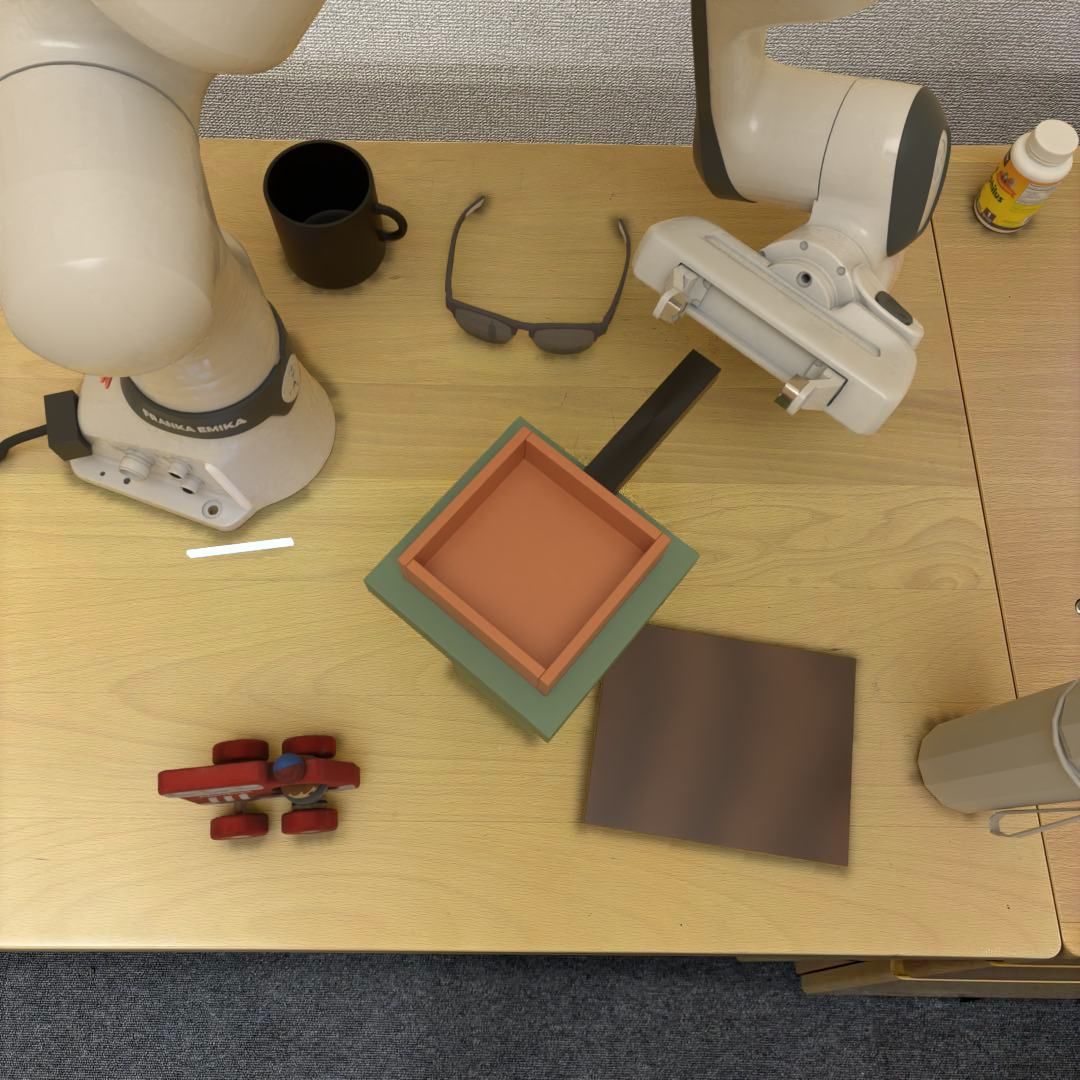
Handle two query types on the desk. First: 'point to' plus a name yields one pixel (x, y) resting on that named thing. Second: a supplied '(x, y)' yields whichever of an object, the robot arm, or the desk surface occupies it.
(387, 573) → the stand
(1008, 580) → the desk surface
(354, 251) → the mug
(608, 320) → the sunglasses
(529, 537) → the pan
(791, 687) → the board
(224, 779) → the toy fire truck
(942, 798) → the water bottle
